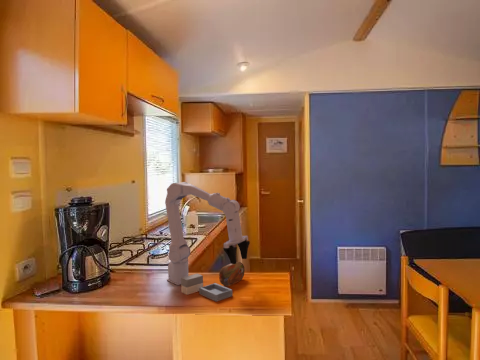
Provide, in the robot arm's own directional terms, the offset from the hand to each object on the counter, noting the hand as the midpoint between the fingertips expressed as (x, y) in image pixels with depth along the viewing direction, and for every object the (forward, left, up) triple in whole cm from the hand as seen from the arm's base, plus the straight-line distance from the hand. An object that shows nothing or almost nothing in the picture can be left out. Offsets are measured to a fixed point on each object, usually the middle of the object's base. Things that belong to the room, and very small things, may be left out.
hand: (239, 261), depth 146 cm
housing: (-10, -17, -11) cm, 23 cm away
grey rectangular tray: (0, -13, -11) cm, 17 cm away
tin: (-6, +1, -11) cm, 13 cm away
